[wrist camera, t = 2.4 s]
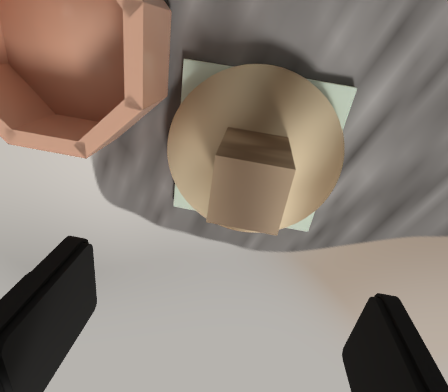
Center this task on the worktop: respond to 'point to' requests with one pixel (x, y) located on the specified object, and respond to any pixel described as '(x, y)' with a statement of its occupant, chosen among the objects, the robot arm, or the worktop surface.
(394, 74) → the worktop surface
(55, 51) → the bowl
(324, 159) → the lid
